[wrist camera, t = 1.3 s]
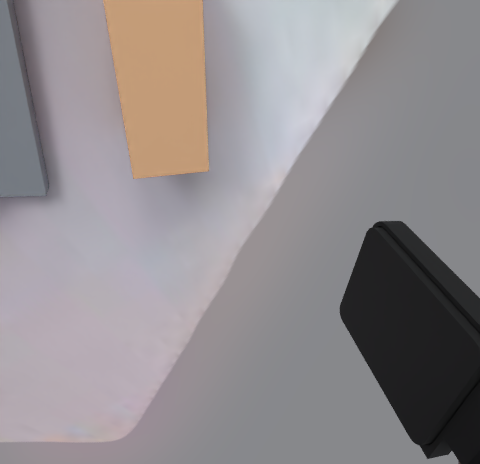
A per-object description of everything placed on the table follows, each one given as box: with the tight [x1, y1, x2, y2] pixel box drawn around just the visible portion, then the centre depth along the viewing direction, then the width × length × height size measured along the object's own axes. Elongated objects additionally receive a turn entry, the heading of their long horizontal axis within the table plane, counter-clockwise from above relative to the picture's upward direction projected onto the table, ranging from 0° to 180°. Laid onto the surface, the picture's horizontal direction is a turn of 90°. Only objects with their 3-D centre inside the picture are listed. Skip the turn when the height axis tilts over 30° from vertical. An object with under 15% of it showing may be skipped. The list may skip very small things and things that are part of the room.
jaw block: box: [103, 0, 209, 179], centre depth 25 cm, size 12×5×7 cm, turn 0°
